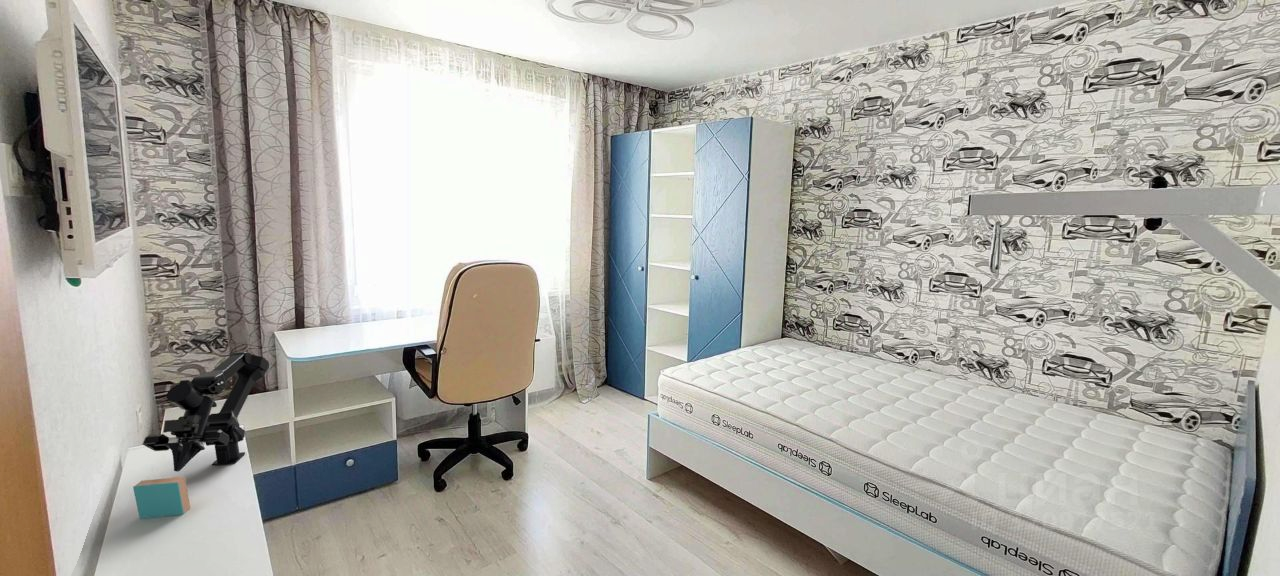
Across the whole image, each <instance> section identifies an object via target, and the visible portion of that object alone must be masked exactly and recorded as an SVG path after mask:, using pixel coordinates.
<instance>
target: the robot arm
mask: <svg viewBox="0 0 1280 576" xmlns="http://www.w3.org/2000/svg"><path fill="white" fill-rule="evenodd" d="M269 368H270V362H269V361H268V360H267V359H266V358H265V357H264V356H263V357H262V356H260V355H255V354H252V353H251V352H247V351H241V352H239V351H236V352H232V353H230V354H229V356H228V357H227V358H226V359H224V361H222V362H221V363H219V364H218V365H217V366H216V367H215V368H213V369H212V370H211V371H208V372H204V373H200V374H199V375H197V376H194V377H193V378H192V379H191V380H189V379H183V380H179V383H178V384H176V385H174V386H173V387H172V388H170V389H169V390H168V391H167V393H166V399H167V400H168V401H169V402H170V403H171V404H173V405H175V407H178V408H179V409H180V410H183V411H184V414H183V415H182V416H179V417H178V418H177V419H167V420H164V422H163V423H164V425H163V433H158V434H149V435H147V436H145V437H144V439H143V441H142V446H144V447H146V448H148V449H150V450H152V451H153V452H161V451H162V452H163V451H169V450H171V453H172V460H173V461H172V462H173V471H175V472H180V471H181V470H182V469H183V468H184V467H186V465H187V464H189V462H190V461H191V460H192V459H193V458H194V457H196V456H197V455H198V454H199V453H200V452H201V451H204V450H206V447H205V445H206V446H214V450H215V456H216V457H215V458H216V460H214V461H213V462H212V463H211V466H220V465H231V464H236V463H237V462H238V461H239V460H241V458H242V457H244V456H245V455H246V452H244V451H243V452H241V451H240V448H239V443H240V442H242V441H244V439H245V436H246V430H245V428H242V427H241V426H240V422H239V419H238V417H239V415H240V413H241V410H242V408H243V406H244V404H245V403H246V400H247V399H248V397H249V395H250V392H251V390H252V389H253V386H254V384H255V383H256V382H258V381H260V380H261V379H262V378H263V377H265V375H266V374H267V371H268V370H269ZM234 374H237V378H236V380H235V382H234V384H233V385H232V388H231V390H230V391H229V394H228V396H227V398H226V399H225V402H224V403H223V405H222V407H221V409H220V410H219V412H217V413H211V411H212V408H217V406H218V405H217V403H216V401H215V399H214V398H213V397H212V398H211V397H209V396H217V395H218V396H219V395H220V394H221V393H222V392H223V391H224V390H225V389H226V388H227V382H228V380H229V379H230V378H231V377H232V376H234ZM164 433H170V435H171V437H169V436H167V435H166V434H164Z"/></svg>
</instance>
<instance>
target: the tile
mask: <svg viewBox="0 0 1280 576" xmlns="http://www.w3.org/2000/svg"><path fill="white" fill-rule="evenodd" d="M132 488H133V495H134V499H135V502H136V507H137V513H138V518H139V519H148V518H149V519H150V518H159V517H171V516H179V515H184V514H185V513H186V512H187V511H189V510H190V509H191V503H190V498H189V492H188V486H187V481H186V476H180V477H168V478H157V479H147V480H146V479H145V480H141V481H139V482H138V483H137V484H135V485H133V486H132Z"/></svg>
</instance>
